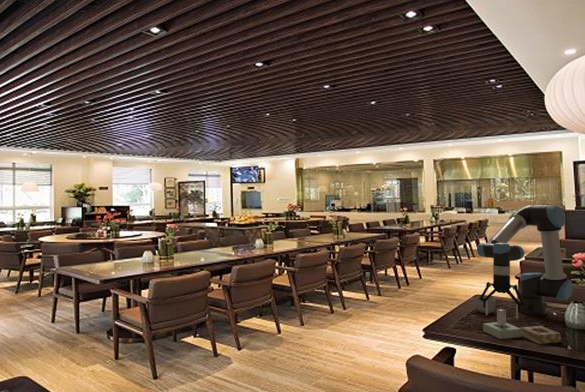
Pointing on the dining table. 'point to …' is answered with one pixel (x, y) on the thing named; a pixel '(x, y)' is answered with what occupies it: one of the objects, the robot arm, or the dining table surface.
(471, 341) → the dining table surface
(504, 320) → the lock pin
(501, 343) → the dining table surface
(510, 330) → the socket block
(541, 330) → the block
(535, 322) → the dining table surface
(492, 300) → the teacup
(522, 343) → the dining table surface
